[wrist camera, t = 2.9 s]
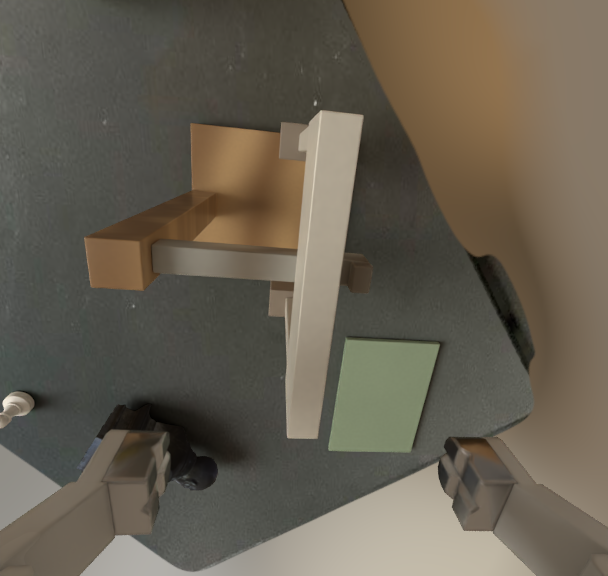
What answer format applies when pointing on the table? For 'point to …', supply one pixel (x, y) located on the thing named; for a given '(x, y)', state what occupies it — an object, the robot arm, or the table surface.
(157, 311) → the table surface
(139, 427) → the dark knob-ended part
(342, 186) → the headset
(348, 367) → the mat
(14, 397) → the chess pawn
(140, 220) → the stand
